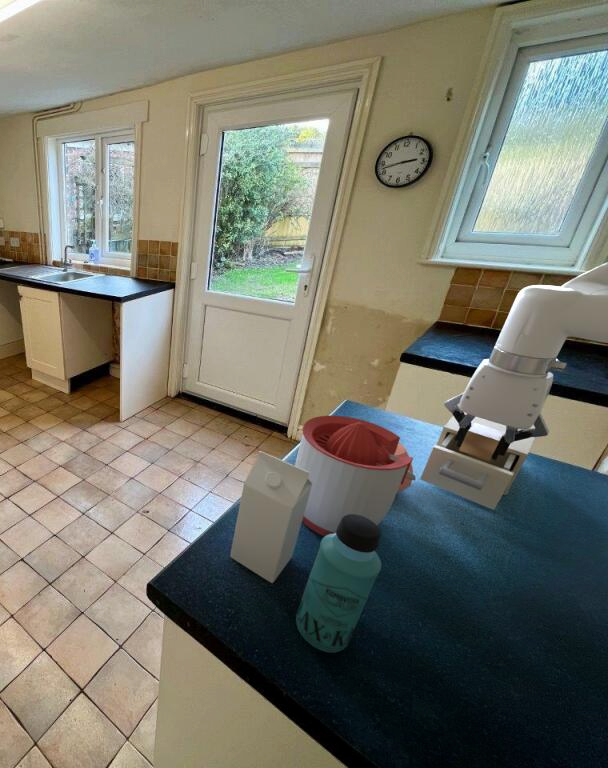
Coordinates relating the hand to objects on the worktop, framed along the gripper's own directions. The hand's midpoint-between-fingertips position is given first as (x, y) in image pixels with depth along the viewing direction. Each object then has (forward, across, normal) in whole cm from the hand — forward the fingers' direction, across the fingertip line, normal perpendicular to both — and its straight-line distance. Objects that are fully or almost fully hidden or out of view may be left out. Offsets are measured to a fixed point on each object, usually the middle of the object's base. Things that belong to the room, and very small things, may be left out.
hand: (477, 449), depth 78 cm
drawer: (+8, 0, 0) cm, 8 cm away
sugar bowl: (+9, +13, +10) cm, 19 cm away
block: (0, 0, 0) cm, 0 cm away
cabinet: (+9, 0, -12) cm, 15 cm away
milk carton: (+9, +16, +46) cm, 49 cm away
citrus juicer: (+9, +12, +28) cm, 31 cm away
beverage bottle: (+9, +4, +52) cm, 52 cm away
